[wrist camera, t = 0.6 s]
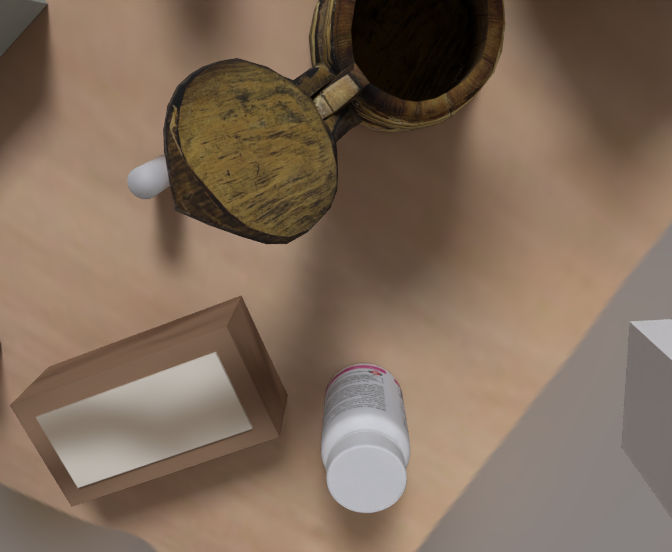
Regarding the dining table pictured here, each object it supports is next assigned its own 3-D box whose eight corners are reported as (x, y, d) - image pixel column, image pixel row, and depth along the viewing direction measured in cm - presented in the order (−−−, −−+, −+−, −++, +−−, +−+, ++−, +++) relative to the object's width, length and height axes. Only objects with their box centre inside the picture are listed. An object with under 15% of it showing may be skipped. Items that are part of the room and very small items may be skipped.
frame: (50, 365, 40) (8, 407, 35) (242, 294, 38) (225, 328, 33) (103, 456, 42) (70, 508, 37) (287, 393, 40) (278, 439, 35)
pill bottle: (309, 401, 40) (298, 485, 32) (357, 346, 39) (359, 419, 31) (368, 443, 41) (372, 536, 33) (418, 391, 39) (435, 474, 31)
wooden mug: (207, 70, 34) (59, 75, 17) (424, -98, 31) (511, -296, 14) (306, 207, 36) (265, 334, 19) (517, 60, 33) (690, 55, 16)
